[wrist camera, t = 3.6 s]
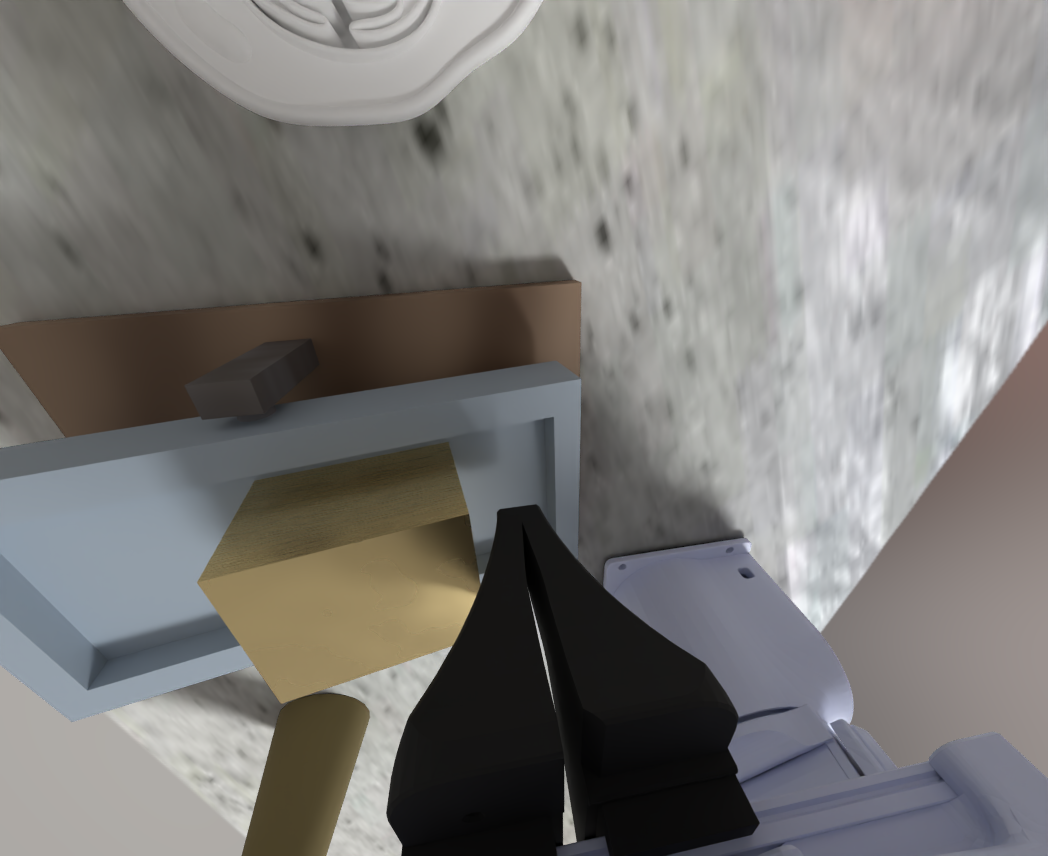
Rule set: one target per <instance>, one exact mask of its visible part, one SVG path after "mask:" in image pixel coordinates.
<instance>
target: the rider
mask: <svg viewBox="0 0 1048 856" xmlns="http://www.w3.org/2000/svg"><path fill="white" fill-rule="evenodd" d="M197 584H198V585H199V586H200V588H201V589H202V591H203V592H204V594H205V595H206V597H207V598H208V599H209V601H210V602H211V604H212V605H213V607H214V608H215V609H216V611H217V612H218V614H219V615H220V617H221V618H222V620H223V621H224V622H225V624H226V625H227V627H228V628H229V630H230V631H231V633H232V634H233V635H234V637H235V638H236V640H237V641H238V643H239V644H240V645H241V647H242V648H243V650H244V651H245V653H246V654H247V656H248V657H249V658H250V660H251V661H252V663H253V664H254V666H255V667H256V669H257V670H258V671H259V673H260V674H261V676H262V677H263V679H264V680H265V681H266V683H267V684H268V686H269V687H270V689H271V690H272V692H273V693H274V694H275V696H276V697H277V699H278V700H279V702H280V703H281V704H282V703H285V702H288V701H291V700H294V699H297V698H300V697H303V696H306V695H309V694H312V693H315V692H318V691H321V690H324V689H327V688H330V687H332V686H335V685H338V684H341V683H344V682H347V681H350V680H353V679H356V678H359V677H362V676H365V675H368V674H371V673H374V672H377V671H380V670H383V669H386V668H389V667H391V666H394V665H397V664H400V663H403V662H406V661H409V660H412V659H415V658H418V657H421V656H424V655H427V654H430V653H433V652H436V651H439V650H442V649H445V648H448V647H451V646H453V644H454V643H455V641H456V639H457V637H458V635H459V633H460V631H461V629H462V627H463V625H464V622H465V620H466V618H467V616H468V614H469V612H470V610H471V607H472V605H473V603H474V600H475V598H476V595H477V593H478V590H479V588H480V585H481V584H480V577H479V571H478V565H477V559H476V553H475V547H474V541H473V534H472V528H471V522H470V516H469V512H468V508H467V505H466V501H465V498H464V494H463V491H462V487H461V484H460V480H459V477H458V473H457V470H456V466H455V463H454V459H453V456H452V452H451V449H450V445H449V442H445V443H440V444H435V445H430V446H425V447H420V448H415V449H410V450H405V451H400V452H395V453H390V454H385V455H380V456H375V457H370V458H365V459H360V460H355V461H350V462H345V463H340V464H335V465H330V466H325V467H320V468H315V469H310V470H305V471H300V472H295V473H290V474H285V475H280V476H275V477H270V478H265V479H260V480H255V481H254V482H253V484H252V486H251V488H250V489H249V491H248V493H247V495H246V497H245V498H244V500H243V502H242V504H241V505H240V507H239V509H238V511H237V512H236V514H235V516H234V518H233V520H232V521H231V523H230V525H229V527H228V528H227V530H226V532H225V534H224V535H223V537H222V539H221V541H220V543H219V544H218V546H217V548H216V550H215V551H214V553H213V555H212V557H211V558H210V560H209V562H208V564H207V566H206V567H205V569H204V571H203V573H202V574H201V576H200V578H199V580H198V581H197Z"/></svg>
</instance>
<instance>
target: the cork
mask: <svg viewBox="0 0 1048 856" xmlns="http://www.w3.org/2000/svg"><path fill="white" fill-rule="evenodd" d="M369 718H370V716H369V710H368V709H367V707H366V706H365V704H363V703H362V702H360V701H358V700H357V699H354V698H351V697H348V696H345V695H337V694H314V695H310V696H306V697H302V698H299V699H297V700H294V701H292V702H290V703H288V704H287V705H286V706H285V707H284V708H283V709H282V710H281V711H280V714H279V716H278V719H277V723H276V727H275V731H274V735H273V738H272V742H271V746H270V750H269V754H268V757H267V761H266V765H265V769H264V773H263V776H262V780H261V784H260V788H259V792H258V795H257V799H256V803H255V807H254V811H253V815H252V818H251V822H250V826H249V830H248V834H247V837H246V841H245V845H244V849H243V853H242V856H326V855H327V852H328V848H329V845H330V842H331V839H332V836H333V833H334V829H335V826H336V823H337V820H338V817H339V814H340V810H341V807H342V804H343V801H344V798H345V795H346V791H347V788H348V785H349V782H350V779H351V776H352V772H353V769H354V766H355V763H356V760H357V756H358V753H359V750H360V747H361V744H362V741H363V737H364V734H365V731H366V728H367V725H368V722H369Z"/></svg>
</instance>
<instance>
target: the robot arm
mask: <svg viewBox="0 0 1048 856" xmlns="http://www.w3.org/2000/svg"><path fill="white" fill-rule="evenodd" d="M751 545H752V544H751V542H750V541H749V540H748V539H746V538H739V539H733V540H726V541H720V542H713V543H707V544H700V545H694V546H687V547H681V548H675V549H668V550H662V551H655V552H649V553H642V554H636V555H629V556H623V557H616V558H611V559H609V560H607V562H606V563H605V568H604V582H603V586H602V585H601V584H600V583H599V582H598V581H597V580H596V579H595V578H594V577H593V576H592V575H591V574H590V573H589V572H588V571H587V570H586V569H585V568H584V567H583V565H582V564H581V563H580V562H579V561H578V560H577V559H576V558H575V556H574V555H573V554H572V553H571V552H570V550H569V549H568V548H567V547H566V545H565V544H564V543H563V541H562V540H561V539H560V538H559V536H558V535H557V534H556V532H555V531H554V529H553V528H552V526H551V525H550V523H549V522H548V520H547V519H546V517H545V516H544V514H543V512H542V510H541V508H540V507H539V506H538V505H537V504H534V505H526V506H519V507H511V508H504V509H499V510H498V511H497V524H496V531H495V536H494V541H493V545H492V549H491V553H490V557H489V561H488V564H487V567H486V570H485V573H484V576H483V579H482V582H481V585H480V588H479V590H478V593H477V595H476V598H475V600H474V603H473V605H472V607H471V610H470V612H469V614H468V616H467V618H466V620H465V622H464V625H463V627H462V629H461V631H460V633H459V635H458V637H457V639H456V641H455V643H454V644H453V646H452V648H451V650H450V652H449V653H448V655H447V657H446V659H445V660H444V662H443V664H442V666H441V667H440V669H439V671H438V673H437V674H436V676H435V678H434V679H433V681H432V682H431V684H430V685H429V687H428V688H427V690H426V692H425V693H424V695H423V696H422V698H421V699H420V701H419V702H418V704H417V705H416V707H415V708H414V710H413V711H412V713H411V714H410V716H409V718H408V720H407V723H406V726H405V729H404V732H403V735H402V738H401V741H400V744H399V748H398V751H397V755H396V759H395V763H394V767H393V772H392V776H391V783H390V790H389V798H388V805H387V812H386V814H387V818H388V822H389V823H390V825H391V827H392V828H393V830H394V832H395V833H396V835H397V837H398V838H399V840H400V842H401V843H402V855H401V856H1048V778H1047V777H1046V776H1045V775H1044V774H1042V773H1041V772H1040V771H1039V770H1038V769H1037V768H1036V767H1035V766H1034V765H1033V764H1032V763H1031V762H1030V761H1029V760H1027V759H1026V758H1025V757H1024V756H1023V755H1022V754H1021V753H1020V752H1019V751H1018V750H1017V749H1016V748H1015V747H1014V746H1012V745H1011V744H1010V743H1009V742H1008V741H1007V740H1006V739H1005V738H1004V737H1003V736H1002V735H1001V734H999V733H996V732H989V733H985V734H980V735H976V736H971V737H967V738H962V739H958V740H954V741H951V742H948V743H946V744H944V745H942V746H941V747H940V748H938V749H936V750H935V751H934V752H933V753H932V755H931V756H930V757H929V761H926V762H922V763H918V764H913V765H909V766H905V767H901V768H897V767H896V765H895V764H894V763H893V762H892V760H891V759H890V758H889V757H888V756H887V754H886V753H885V752H884V751H883V750H882V748H881V747H880V746H879V745H878V743H877V742H876V741H875V740H874V739H873V737H872V736H871V735H870V734H869V733H868V732H867V731H866V730H865V729H862V728H860V727H857V726H854V725H849V724H850V722H851V719H852V715H853V695H852V691H851V687H850V684H849V681H848V679H847V676H846V674H845V672H844V669H843V667H842V665H841V663H840V662H839V660H838V658H837V656H836V655H835V653H834V651H833V650H832V648H831V647H830V645H829V644H828V642H827V641H826V640H825V638H824V637H823V636H822V635H821V633H820V632H819V631H818V630H817V629H816V628H815V626H814V625H813V624H812V623H811V622H810V621H809V620H808V619H807V617H806V616H805V615H804V614H803V613H802V612H801V611H800V610H799V609H798V607H797V606H796V605H795V604H794V603H793V602H792V601H791V600H790V598H789V597H788V596H787V595H786V594H785V593H784V592H783V591H782V590H781V588H780V587H779V586H778V585H777V584H776V583H775V582H774V581H773V579H772V578H771V577H770V576H769V575H768V574H767V573H766V572H765V570H764V569H763V568H762V567H761V566H760V565H759V564H758V563H757V562H756V560H755V559H754V558H753V557H752V556H751V555H750V554H749V552H750V549H751ZM621 564H622V565H621ZM528 590H529V591H528ZM529 594H530V596H529ZM530 598H531V601H532V605H533V609H534V613H535V616H536V620H537V624H538V628H539V632H540V635H541V639H542V643H543V647H544V651H545V656H546V660H547V665H548V671H549V677H550V682H551V688H552V694H553V700H554V704H553V700H552V696H551V691H550V687H549V683H548V679H547V674H546V670H545V666H544V662H543V657H542V652H541V648H540V643H539V639H538V634H537V630H536V625H535V620H534V615H533V611H532V606H531V601H530ZM554 706H555V708H554ZM555 711H556V712H555ZM835 733H836V734H837V736H838V737H839V738H838V737H837V736H836V734H835ZM840 740H841V741H840ZM843 744H844V745H843ZM845 747H846V748H845ZM848 751H849V752H848ZM564 765H565V771H566V777H567V783H568V789H569V796H570V802H571V808H572V814H573V820H574V827H575V833H576V839H577V842H576V843H571V844H567V845H563V812H564Z"/></svg>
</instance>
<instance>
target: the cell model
mask: <svg viewBox="0 0 1048 856" xmlns="http://www.w3.org/2000/svg"><path fill="white" fill-rule="evenodd" d="M122 1H123V2H124V3H125V4H126V6H127V7H128V8H129V9H130V10H131V12H132V13H133V14H134V15H135V16H136V18H137V19H138V20H139V21H140V22H141V23H142V24H143V25H144V26H145V27H146V29H147V30H148V31H149V32H150V33H151V34H152V35H153V36H154V37H155V38H156V39H157V40H158V41H159V42H160V43H161V44H162V45H163V46H164V47H165V48H166V49H167V50H168V51H169V52H170V53H172V54H173V55H174V56H175V57H176V58H177V59H178V60H179V61H181V62H182V63H183V64H184V65H185V66H186V67H188V68H189V69H190V70H191V71H192V72H194V73H195V74H196V75H197V76H199V77H200V78H201V79H202V80H204V81H205V82H206V83H208V84H209V85H210V86H212V87H213V88H215V89H216V90H217V91H219V92H220V93H221V94H223V95H224V96H226V97H227V98H229V99H231V100H232V101H234V102H235V103H237V104H239V105H240V106H242V107H244V108H246V109H248V110H249V111H251V112H254V113H256V114H258V115H261V116H263V117H265V118H268V119H272V120H275V121H278V122H283V123H288V124H295V125H303V126H359V125H377V124H389V123H398V122H402V121H406V120H411V119H413V118H415V117H418V116H420V115H422V114H424V113H426V112H427V111H429V110H430V109H431V108H433V107H434V106H436V105H437V104H438V103H439V102H440V101H441V100H442V99H443V98H445V97H446V96H447V95H448V94H449V93H450V92H451V91H452V90H453V89H454V88H455V87H456V86H457V85H458V84H459V83H460V82H461V81H462V80H463V79H464V78H466V77H467V76H468V75H469V74H470V73H471V72H473V71H474V70H475V69H477V68H478V67H479V66H481V65H482V64H484V63H485V62H487V61H489V60H490V59H492V58H493V57H494V56H496V55H497V54H499V53H500V52H502V51H503V50H504V49H506V48H507V47H508V46H509V45H511V44H512V43H513V42H514V41H515V40H516V39H517V38H518V37H519V35H520V34H521V33H522V32H523V31H524V30H525V28H526V27H527V26H528V24H529V23H530V22H531V20H532V19H533V17H534V15H535V14H536V12H537V10H538V9H539V7H540V5H541V3H542V2H543V0H122Z"/></svg>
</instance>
